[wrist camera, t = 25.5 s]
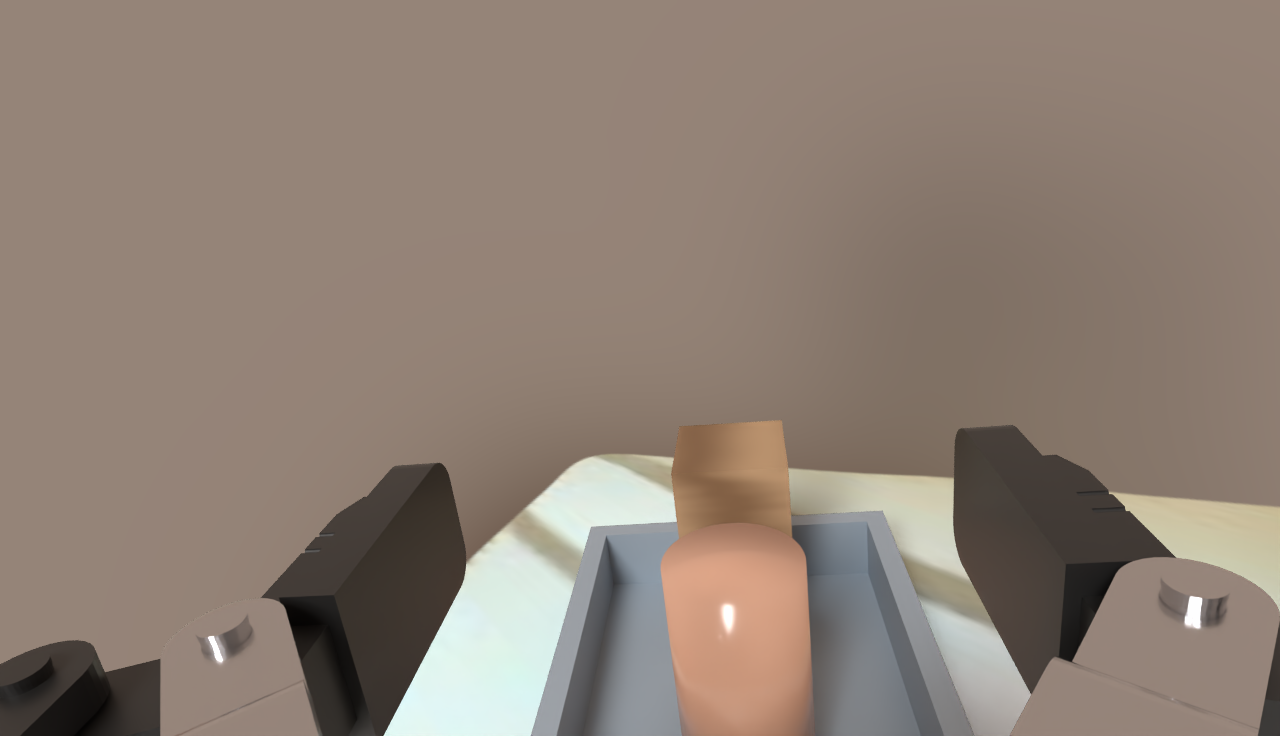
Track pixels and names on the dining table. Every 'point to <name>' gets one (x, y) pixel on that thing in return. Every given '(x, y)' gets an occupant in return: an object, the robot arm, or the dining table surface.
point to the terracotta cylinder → (739, 632)
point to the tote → (839, 633)
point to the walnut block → (731, 476)
